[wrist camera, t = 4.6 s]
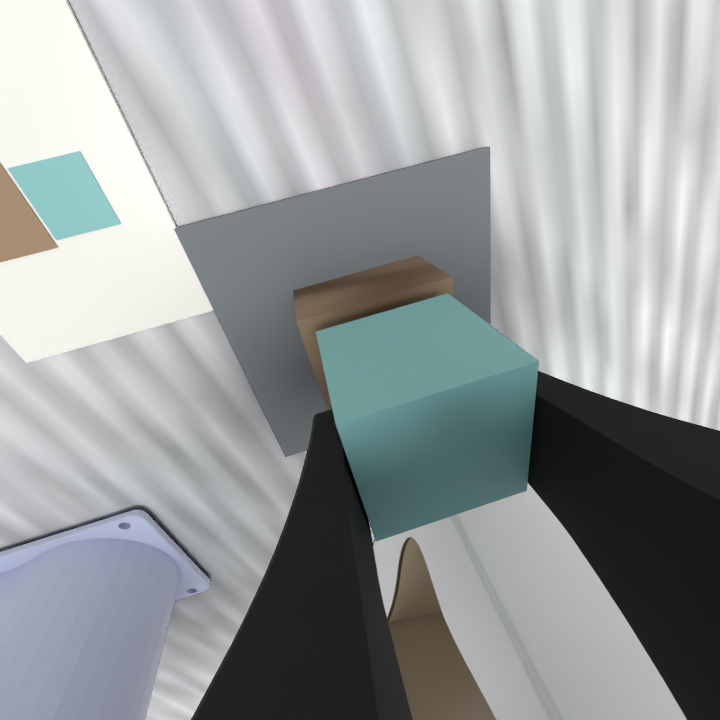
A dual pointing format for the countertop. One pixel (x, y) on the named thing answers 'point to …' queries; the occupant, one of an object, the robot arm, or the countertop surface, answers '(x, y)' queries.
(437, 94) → the countertop surface
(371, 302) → the walnut block
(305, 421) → the build mat
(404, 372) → the teal cube
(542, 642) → the gable box
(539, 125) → the countertop surface
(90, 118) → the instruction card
